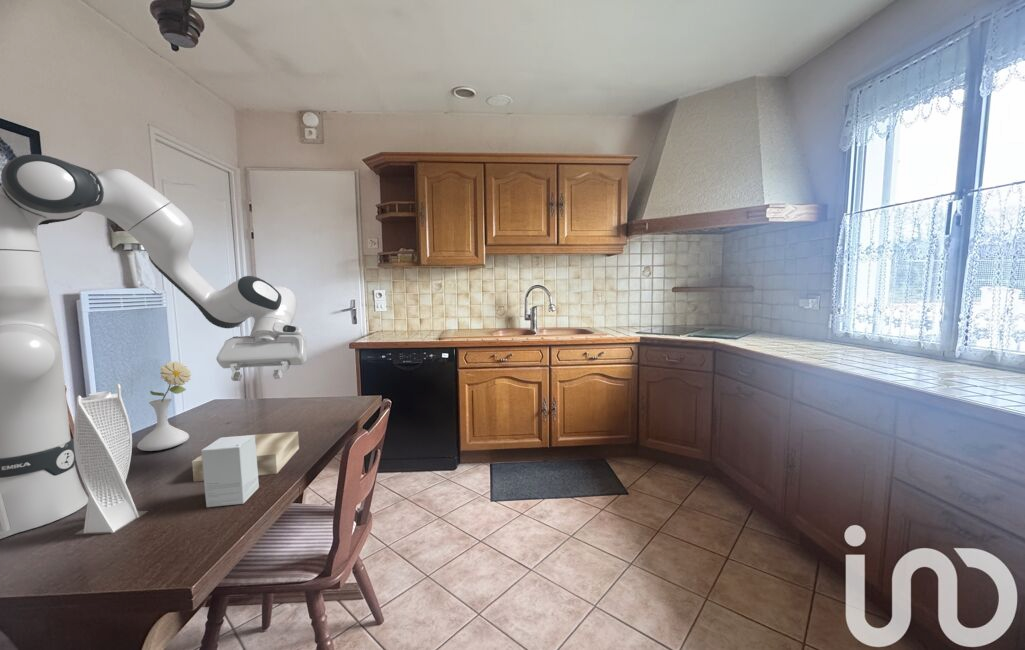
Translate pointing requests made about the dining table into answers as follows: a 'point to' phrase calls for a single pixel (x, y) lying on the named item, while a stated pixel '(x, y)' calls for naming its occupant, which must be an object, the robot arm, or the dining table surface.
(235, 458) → the supplement box
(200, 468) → the birch stand
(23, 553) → the dining table surface
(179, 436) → the flower in vase
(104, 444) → the skyscraper
